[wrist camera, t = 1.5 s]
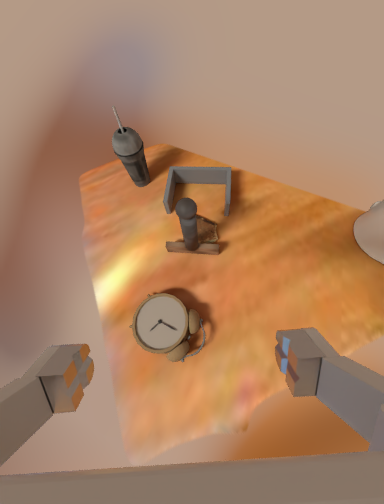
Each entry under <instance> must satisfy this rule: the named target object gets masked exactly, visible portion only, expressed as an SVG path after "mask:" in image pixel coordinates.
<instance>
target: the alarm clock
mask: <svg viewBox="0 0 384 504" xmlns="http://www.w3.org/2000/svg"><path fill="white" fill-rule="evenodd" d="M202 321H203V319H201V318H200V316H199V313H198V312H197V311H196V310H194V309H190V311H189V313H188V310H187V309H186V307H185V306H184V304H183V303H182V302H181V300H179V299H178V298H176V297H175V296H173V295H170V294H167V293H161V294H155V295H152V296H150V295H149V294H148V298H147V299H146V300H144V301H143V302H142V303H141V304H140V305H139V307H138V308H137V310H136V312H135V314H134V317H133V323H132V325H130V326H129V327H130V328H132V329H133V335H134V337H135V339H136V341H137V343H138V344H139V345H140V346H141V347H142V348H143V349H144V350H146V351H149V352H151V353H169V352H170V353H169V354H168V355H167V358H168V359H169V360H170V361H172V362H176V361H179V360H181V361H182V362H184V358H186V357H188V356H193V355H196V354H197V353H199V351H200V350H201V349H202V347H203V346H204V343H205V331H204V329H203V326H202V323H201V322H202ZM200 324H201V327H202V330H203V334H204V338H203V342H202V345H201V347H200V348H199V349H198V351H197V352H195V353H194V354H191V355H187V353H188V351H189V343H188V341H186V342H184V341H185V340H186V338H187V337H188V334H189V330H190V333H191V334H193V333H196V332H197V331H198V330H199V327H200ZM190 337H191V336H189V337H188V340H189V339H190ZM186 355H187V356H186Z"/></svg>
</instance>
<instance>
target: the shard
mask: <svg viewBox="0 0 384 504" xmlns="http://www.w3.org/2000/svg"><path fill="white" fill-rule="evenodd" d="M196 221H197V231H198V241H199V243H203V244H205V243H211V242H215V241H216V240H217V239H218V237H217V233H216V227H217V224H215V223H213V222H211V221H208V220H206V219H204V218H202V217H200V216H197V215H196Z"/></svg>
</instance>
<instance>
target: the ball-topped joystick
mask: <svg viewBox="0 0 384 504" xmlns="http://www.w3.org/2000/svg"><path fill="white" fill-rule="evenodd" d="M175 210H176V214H177V215H178V217H179V220H180V224H181V229H182V233H183V237H184V242H167V241H166V248H167V251H168V252H181V253H197V254H213V255H218V254H219V244H203V243H199V241H198V231H197V221H196V212H197V205H196V203H195V202H194V201H193V200H192V199H190V198H182V199H180V200H179V201H178V202H177V204H176V208H175Z"/></svg>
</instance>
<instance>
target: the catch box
mask: <svg viewBox="0 0 384 504" xmlns="http://www.w3.org/2000/svg"><path fill="white" fill-rule="evenodd" d="M176 183H196V184H226V190H225V213H224V216H228V215H229V208H230V191H231V167H172V166H170V169H169V174H168V179H167V184H166V190H165V195H164V200H163V203H164V206H165V209H166V212H167V214H171V209H172V203H173V197H174V191H175V185H176Z"/></svg>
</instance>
